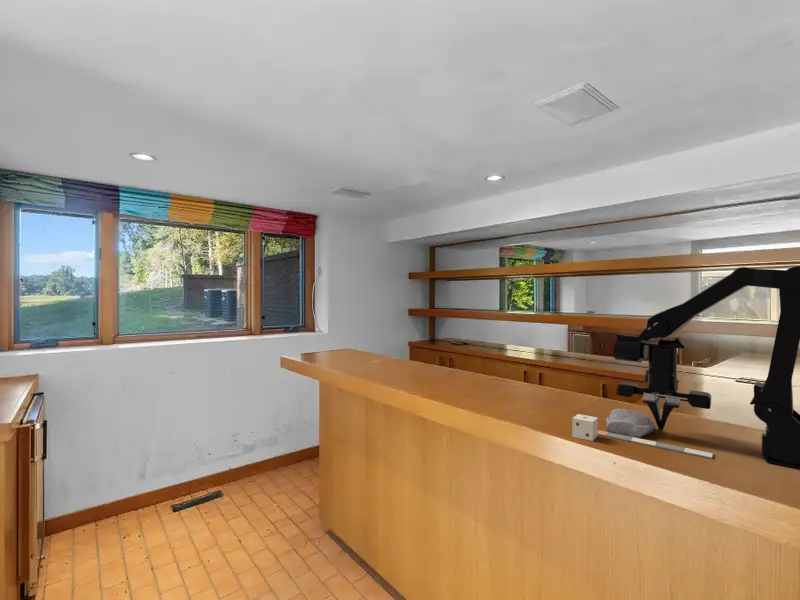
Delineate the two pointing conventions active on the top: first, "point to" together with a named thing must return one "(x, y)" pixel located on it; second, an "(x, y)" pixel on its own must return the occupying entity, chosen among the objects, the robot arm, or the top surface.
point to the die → (585, 427)
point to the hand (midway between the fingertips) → (661, 429)
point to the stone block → (629, 423)
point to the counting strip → (657, 444)
